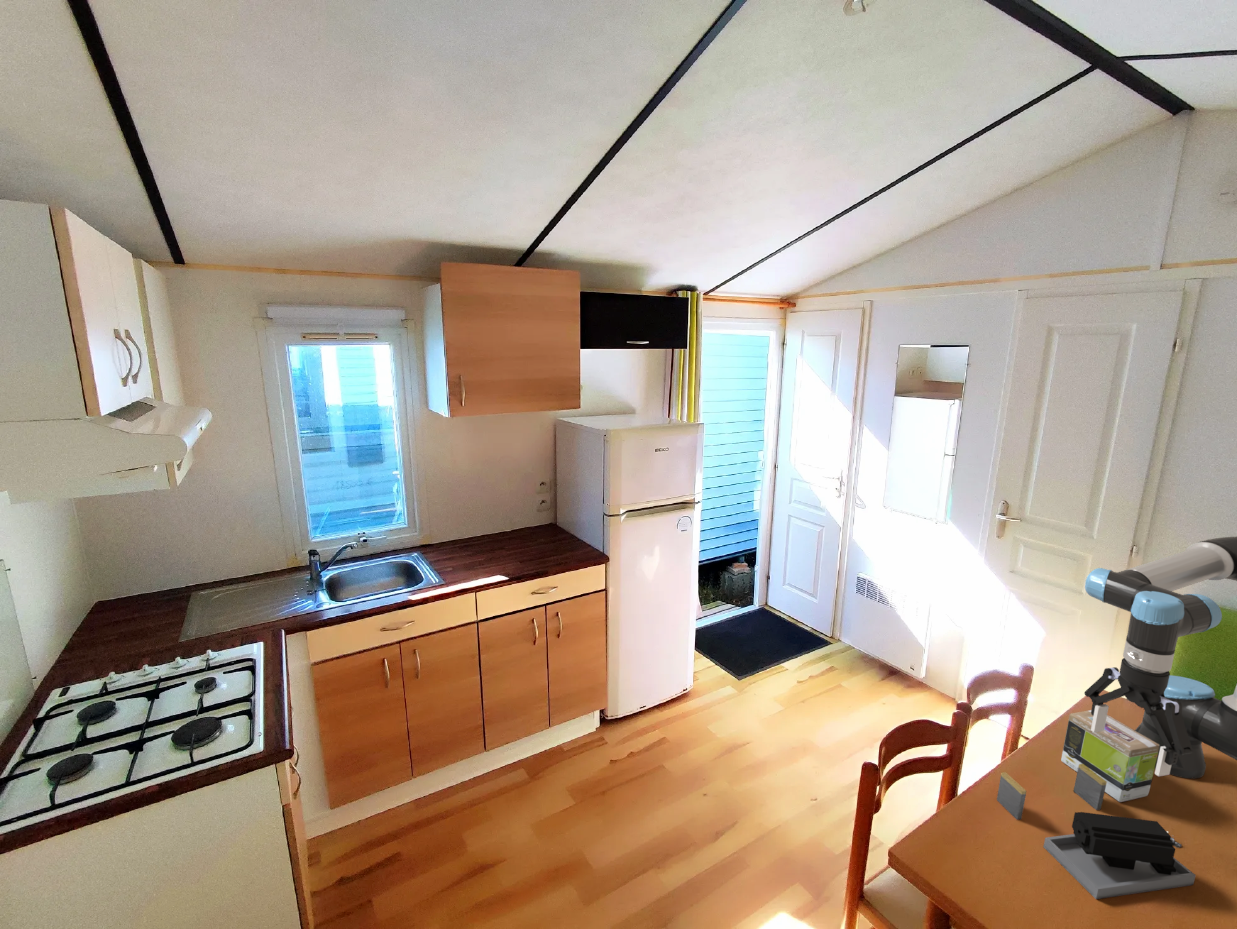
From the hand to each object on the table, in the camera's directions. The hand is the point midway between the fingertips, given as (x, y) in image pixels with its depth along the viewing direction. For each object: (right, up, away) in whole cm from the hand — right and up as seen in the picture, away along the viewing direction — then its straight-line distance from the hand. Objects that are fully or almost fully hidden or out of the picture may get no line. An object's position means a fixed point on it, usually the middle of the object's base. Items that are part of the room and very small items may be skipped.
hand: (1127, 751), depth 123 cm
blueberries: (+13, -23, +5) cm, 27 cm away
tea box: (+14, -19, +23) cm, 33 cm away
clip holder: (-7, -20, +14) cm, 25 cm away
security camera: (-3, -23, -2) cm, 24 cm away
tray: (-5, -24, -2) cm, 24 cm away
